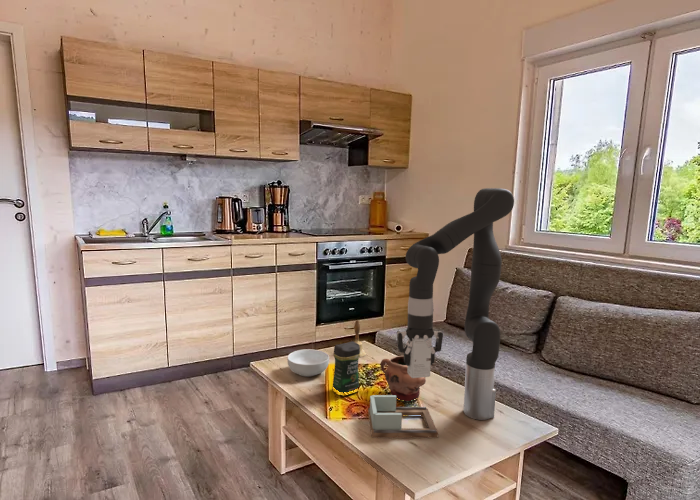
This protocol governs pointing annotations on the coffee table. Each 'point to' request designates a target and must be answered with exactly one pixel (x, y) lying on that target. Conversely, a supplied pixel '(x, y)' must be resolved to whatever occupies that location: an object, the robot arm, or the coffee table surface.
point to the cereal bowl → (308, 362)
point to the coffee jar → (346, 367)
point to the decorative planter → (401, 379)
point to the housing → (384, 419)
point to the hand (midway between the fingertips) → (418, 364)
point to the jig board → (407, 432)
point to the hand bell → (357, 329)
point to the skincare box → (419, 358)
